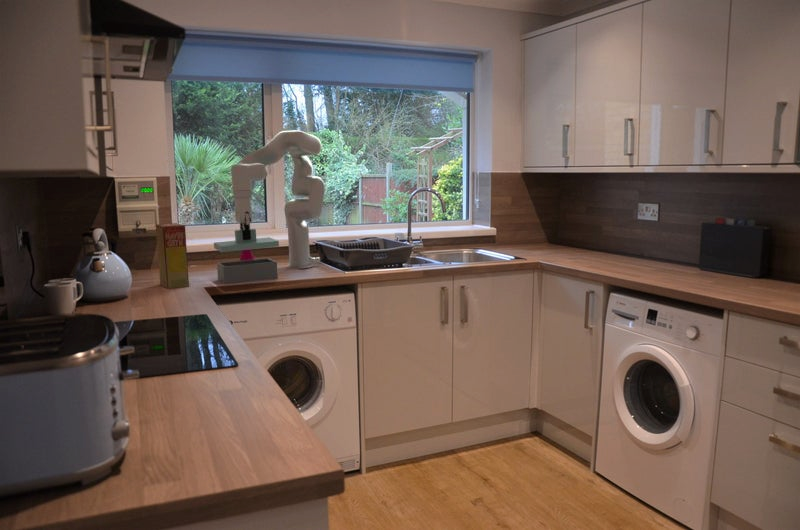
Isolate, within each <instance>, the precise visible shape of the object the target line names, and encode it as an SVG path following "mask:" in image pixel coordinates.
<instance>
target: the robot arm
mask: <svg viewBox="0 0 800 530" xmlns="http://www.w3.org/2000/svg"><path fill="white" fill-rule="evenodd" d="M322 147H323V146H322V141H321V140H320V139H319V138H318V137H317V136H315V135H313V134H309V133H308V132H305V131H302V130H298V129H297V130H294V129H293V130H282V131H280V132H278V133H277V134H276V135H275V136H274V137H272V139H271V140H270V141H268V142H267V143H266V145H264V146H263V147H261V148H258V149H257V150H255V151H253V152H250V153H248V154H247V155H245V156H244V157H243V158H242V159H240V161H238V163H236V164H232V165H231V167H230V172H231V186H232V197H233V200H234V217H235V218H234V220H235V222H236V223H238V224H239V230H242V233H243V240H250V239H251V231H250V229H251V223H252V222H253V213H252V210H253V209H252V203H251V199H253V195H252V194H253V191H252V189H253V188H252V182H261V181H264V180H265V179H267V177H268V175H269V173H268V172H269V171H268V167H267V166H270V165H273V164H276V163H278V162H279V161H280V160H281V159H282V158H284V156H285V155H286V154H288V153H289V155H290V157H291V160H292V162H293V174H292V180H291V188H290V190H291V194H292V195H293V196H294V197H297V198H294V199H290V200H288V201H286V203H285V204H284V209H283V210H284V215H285V218H286V219H285V220H286V227H287V238H288V256H289V257H288V259H289V263H288V264H286V268H296V269H298V270H302V269H303V270H305V269H309V268H313V267H314V262H315V263H316V262H317V263H318V262H320V261H321V257H320V256H319V257H318V256H317V257H312V256H311V255H310V252H311V251H310V236H309V235H310V230H309V226H308V224H307V223H306V221H317V220H318V219H319V218H320V217H321V215H322V211H323V205H324V199H325V189H326V188H325V183H324V180H323V179H322V178H321V177H320V176H317V175H316V176H314V175H313V170H314V169H313V164H312V162H311V160H310V159H309V157H311V156H313V157H314V156H317V155H319V154H320V153H321V151H322ZM308 156H309V157H308ZM298 197H299V198H298ZM304 198H308V199H304Z"/></svg>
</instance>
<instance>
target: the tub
mask: <svg viewBox="0 0 800 530" xmlns="http://www.w3.org/2000/svg"><path fill="white" fill-rule="evenodd" d="M216 269H217V271H216V272H217V280H218V281H219V282H220V283H222V284H224V285H230V284H241V283H247V282H257V281H258V282H259V281H265V280H266V281H267V280H275V279H278V278H279V277H278V261H276V260H274V259H272V258H269V257H267V258H257V259H255V258H254V260H243V261H240V260H234V261H224V262H222V261H221V262H216Z"/></svg>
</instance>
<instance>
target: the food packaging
mask: <svg viewBox="0 0 800 530" xmlns="http://www.w3.org/2000/svg"><path fill="white" fill-rule="evenodd" d="M155 233H156V245H157V258H158V271H159V272H158V275H159V285H161V287H163V288H165V289H166V290H171V289H178V288H179V289H180V288H186V287H187V288H188V287H190V281H189V280H190V279H189V278H190V277H189V266H188V252H187V251H188V250H187V235H186V225H184V224H179V223H177V222H175V223H173V222H172V223H159V224H155Z"/></svg>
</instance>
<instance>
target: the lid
mask: <svg viewBox="0 0 800 530" xmlns="http://www.w3.org/2000/svg"><path fill="white" fill-rule="evenodd" d="M250 231H251V239H250V240H243V233H242V230H240V229H235V230H234V238H235V239H234V240H227V241H217V242H213V248H214V249H215V250H216V251H218V252H220V253H227V252H228V253H229V252H236V251H237V252H238V251H242V250H249V249H251V250H258V249H265V248H266V249H267V248H274V247H275V248H277V247H280V243H279V240H277V239H274V238H273V237H270V236H269V237H261V238H260V237H259V238H257V230H256V228H250Z"/></svg>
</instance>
